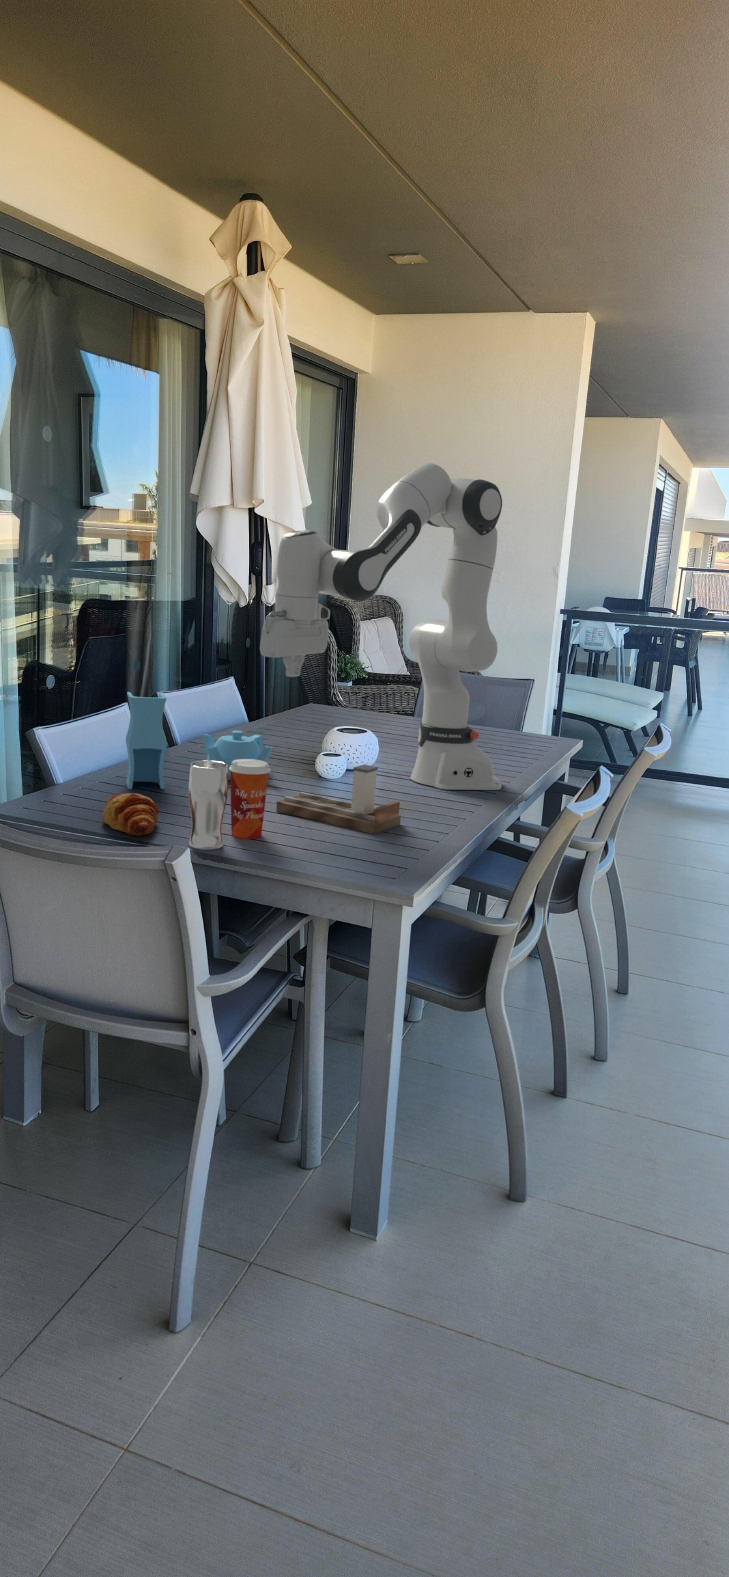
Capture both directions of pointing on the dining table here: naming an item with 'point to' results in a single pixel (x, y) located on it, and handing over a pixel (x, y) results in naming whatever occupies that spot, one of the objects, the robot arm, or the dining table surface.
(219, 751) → the teapot
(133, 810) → the croissant
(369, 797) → the fader knob
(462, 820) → the dining table surface
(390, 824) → the brown wooden tray
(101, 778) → the dining table surface
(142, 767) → the vase
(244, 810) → the paper cup
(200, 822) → the beer glass
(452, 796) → the dining table surface
